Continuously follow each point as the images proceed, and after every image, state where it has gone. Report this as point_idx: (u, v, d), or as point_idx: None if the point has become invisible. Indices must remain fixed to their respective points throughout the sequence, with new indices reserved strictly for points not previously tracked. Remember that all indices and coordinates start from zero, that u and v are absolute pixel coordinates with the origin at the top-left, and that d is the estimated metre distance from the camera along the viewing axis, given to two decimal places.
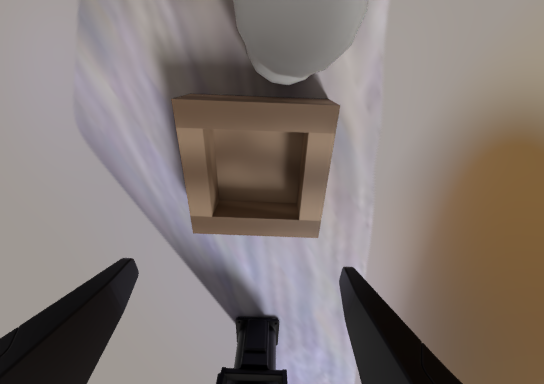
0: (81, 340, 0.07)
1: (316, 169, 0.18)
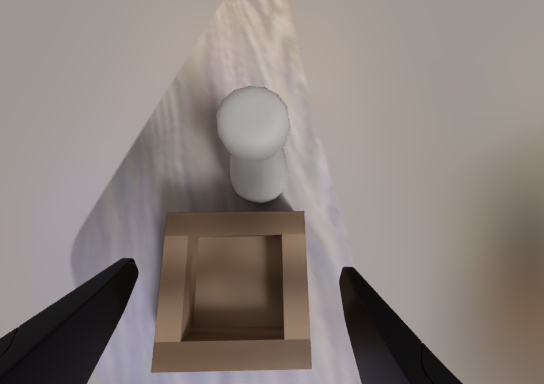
0: (81, 340, 0.07)
1: (294, 270, 0.19)
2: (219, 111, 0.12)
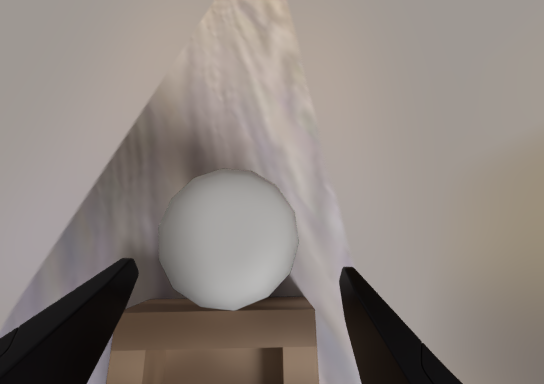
0: (81, 340, 0.07)
1: None
2: (163, 225, 0.06)
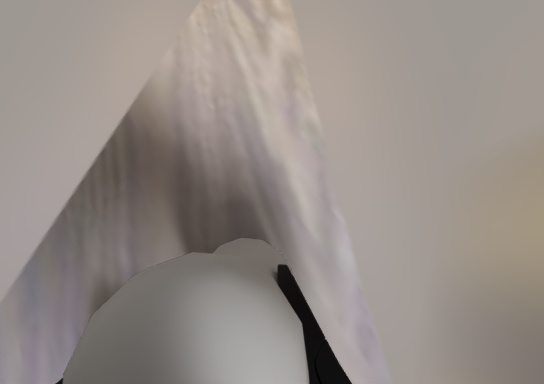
0: None
1: None
2: (66, 379, 0.04)
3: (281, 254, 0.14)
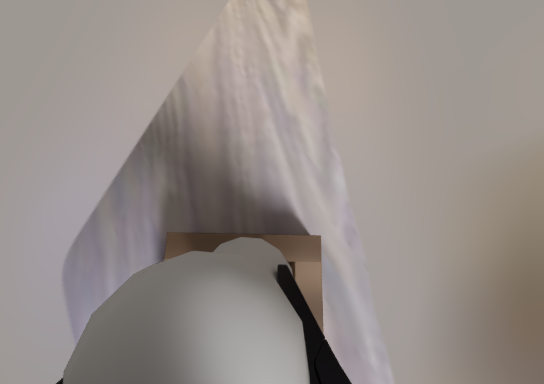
0: None
1: (308, 303, 0.17)
2: (67, 377, 0.04)
3: (281, 253, 0.14)
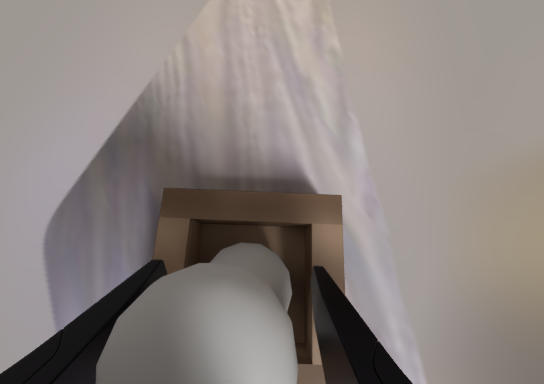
0: None
1: (327, 271, 0.14)
2: (100, 369, 0.04)
3: (279, 257, 0.15)
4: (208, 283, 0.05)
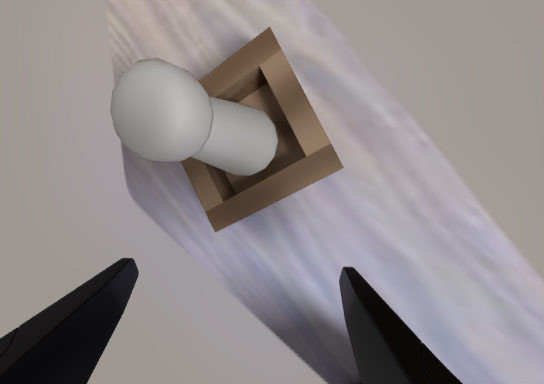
0: (81, 340, 0.07)
1: (287, 91, 0.17)
2: None
3: None
4: None
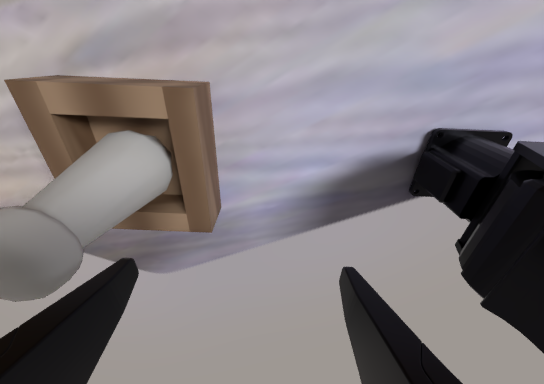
0: (81, 340, 0.07)
1: (87, 100, 0.15)
2: None
3: None
4: None
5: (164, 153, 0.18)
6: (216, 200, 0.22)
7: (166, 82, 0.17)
